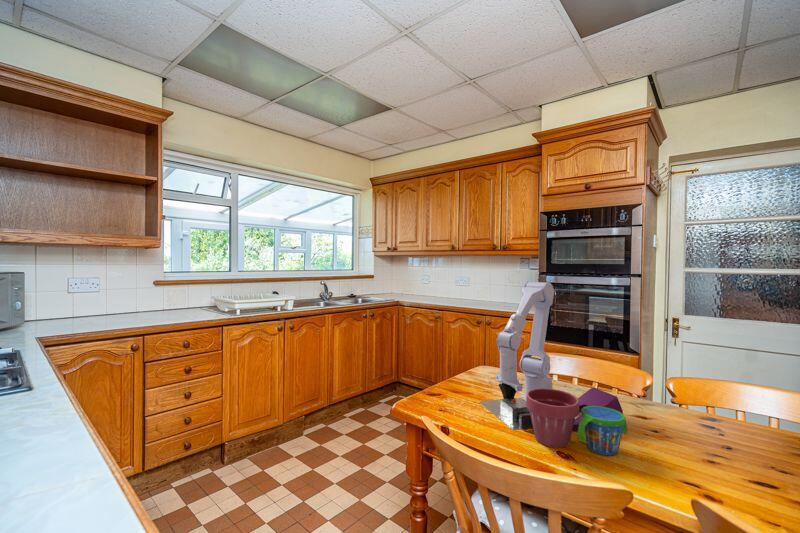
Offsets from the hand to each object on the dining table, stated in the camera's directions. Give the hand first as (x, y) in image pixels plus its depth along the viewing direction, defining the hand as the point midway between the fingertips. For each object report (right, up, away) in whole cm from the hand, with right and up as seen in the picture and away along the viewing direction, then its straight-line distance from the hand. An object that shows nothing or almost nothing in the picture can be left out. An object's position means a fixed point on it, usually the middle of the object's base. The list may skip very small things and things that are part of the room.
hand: (508, 405), depth 128 cm
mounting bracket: (+22, -2, -11) cm, 25 cm away
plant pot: (+6, -2, -22) cm, 23 cm away
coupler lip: (+1, -2, -3) cm, 3 cm away
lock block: (+1, -1, -5) cm, 5 cm away
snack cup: (+18, -2, -28) cm, 33 cm away
